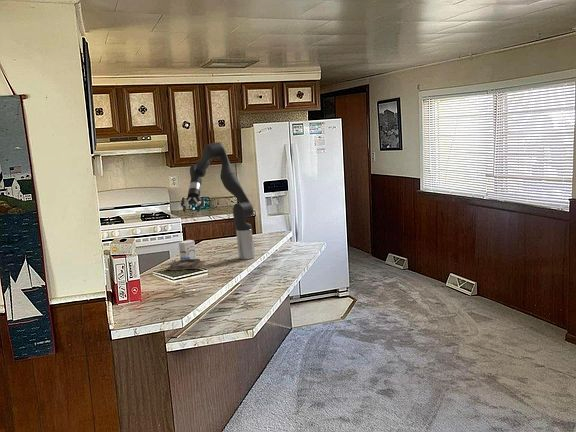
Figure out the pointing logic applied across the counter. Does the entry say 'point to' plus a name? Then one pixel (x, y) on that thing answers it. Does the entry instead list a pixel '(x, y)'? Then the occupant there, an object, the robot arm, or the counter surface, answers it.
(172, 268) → the dock
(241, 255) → the robot arm
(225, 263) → the counter surface
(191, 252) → the ink box
